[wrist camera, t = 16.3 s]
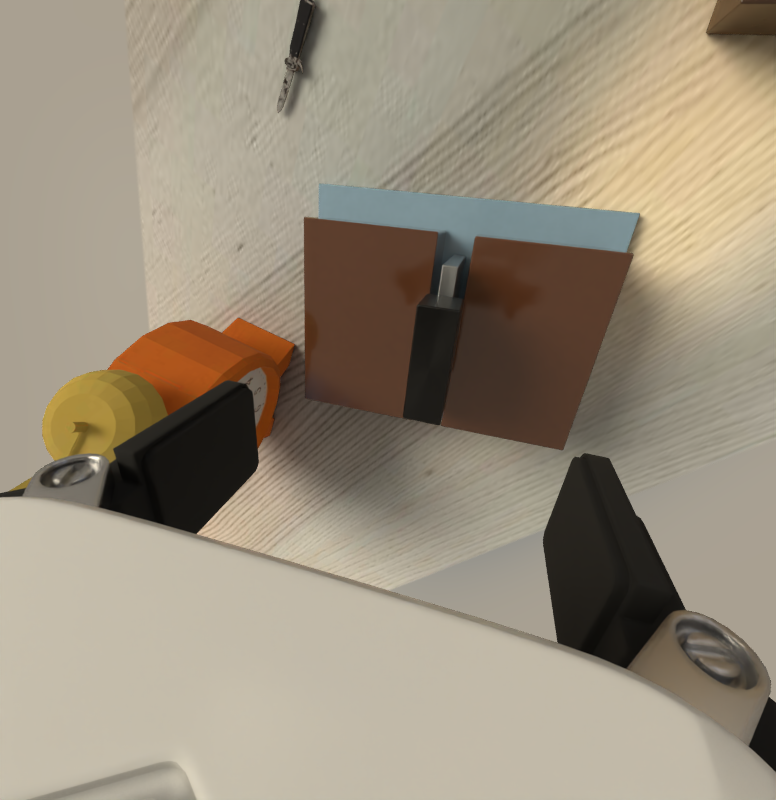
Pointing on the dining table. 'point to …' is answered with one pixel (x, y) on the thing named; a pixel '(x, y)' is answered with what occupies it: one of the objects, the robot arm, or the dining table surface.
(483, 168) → the dining table surface
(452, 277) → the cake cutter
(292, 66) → the knife
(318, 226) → the cake
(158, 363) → the alarm clock
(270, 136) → the dining table surface
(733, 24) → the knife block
